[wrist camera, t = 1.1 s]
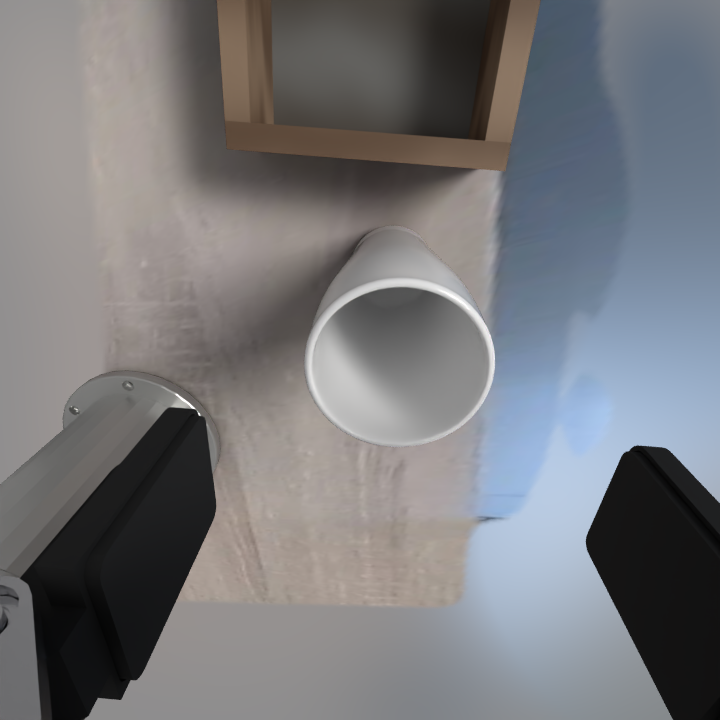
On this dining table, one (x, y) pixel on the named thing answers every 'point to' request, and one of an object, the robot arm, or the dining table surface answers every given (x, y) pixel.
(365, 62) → the caddy
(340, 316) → the drinking glass
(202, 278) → the dining table surface
